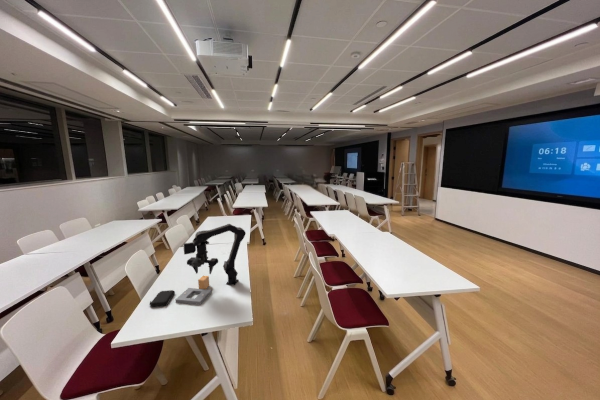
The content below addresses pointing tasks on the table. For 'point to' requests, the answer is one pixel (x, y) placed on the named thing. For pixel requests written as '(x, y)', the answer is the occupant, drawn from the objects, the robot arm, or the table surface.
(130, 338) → the table surface
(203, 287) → the plug
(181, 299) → the socket board
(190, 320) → the table surface
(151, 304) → the carrying case or bag
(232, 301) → the table surface
